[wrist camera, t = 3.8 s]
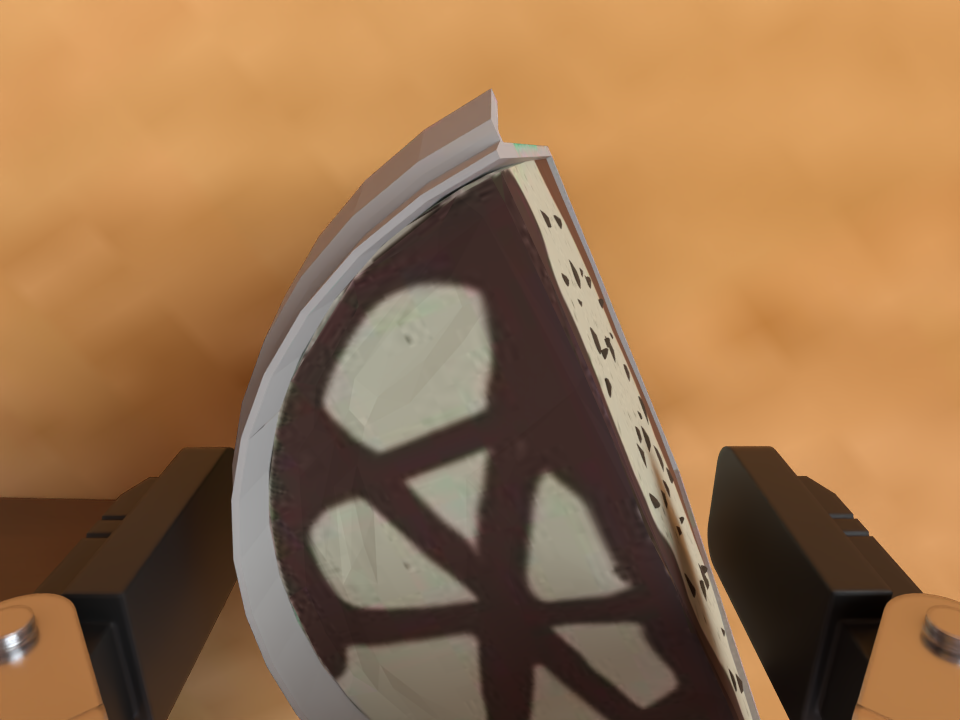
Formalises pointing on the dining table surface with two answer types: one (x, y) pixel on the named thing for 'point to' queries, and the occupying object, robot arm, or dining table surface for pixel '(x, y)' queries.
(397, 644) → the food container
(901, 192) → the dining table surface
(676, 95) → the dining table surface
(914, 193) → the dining table surface
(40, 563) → the dark wooden box
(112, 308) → the dining table surface
